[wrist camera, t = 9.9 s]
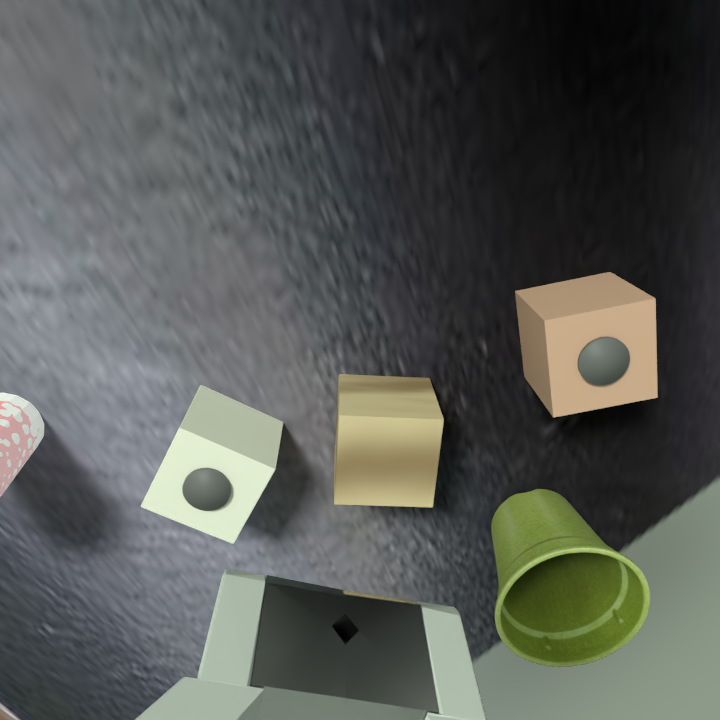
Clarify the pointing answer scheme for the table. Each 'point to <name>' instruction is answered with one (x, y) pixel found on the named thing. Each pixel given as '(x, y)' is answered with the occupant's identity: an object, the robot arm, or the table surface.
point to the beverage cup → (17, 435)
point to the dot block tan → (588, 343)
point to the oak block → (386, 441)
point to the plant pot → (561, 584)
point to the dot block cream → (216, 465)
